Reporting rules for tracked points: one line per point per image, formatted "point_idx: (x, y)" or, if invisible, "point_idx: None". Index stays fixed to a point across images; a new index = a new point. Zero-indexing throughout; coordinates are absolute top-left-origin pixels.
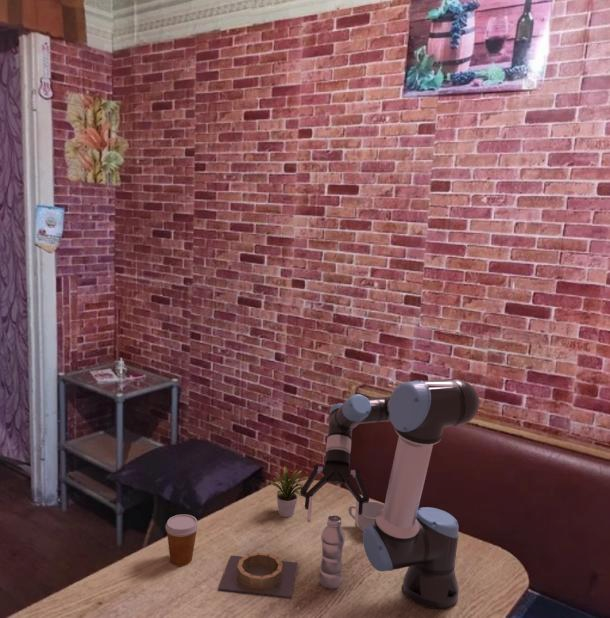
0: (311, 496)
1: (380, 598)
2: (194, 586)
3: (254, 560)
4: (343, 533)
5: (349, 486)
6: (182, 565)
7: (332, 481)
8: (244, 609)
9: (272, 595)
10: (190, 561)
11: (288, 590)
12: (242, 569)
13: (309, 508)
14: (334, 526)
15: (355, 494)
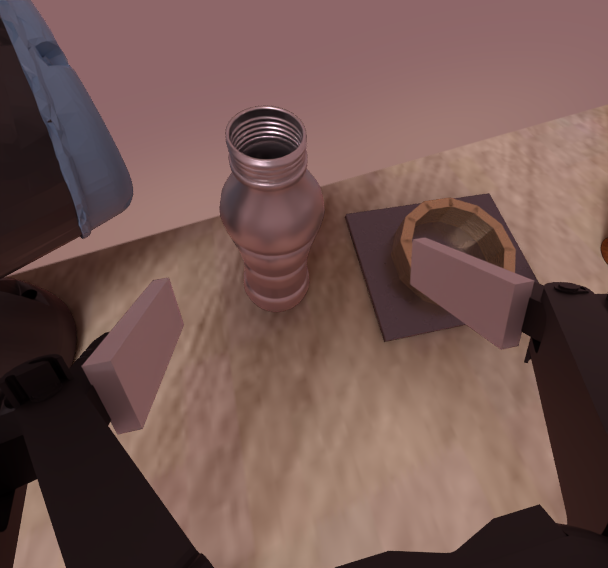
0: (532, 353)
1: (145, 282)
2: (531, 193)
3: None
4: (223, 193)
5: (150, 507)
6: (605, 239)
7: (499, 532)
8: (411, 167)
9: (384, 209)
10: (604, 255)
11: (360, 230)
12: (483, 217)
13: (458, 255)
14: (260, 130)
15: (90, 422)
